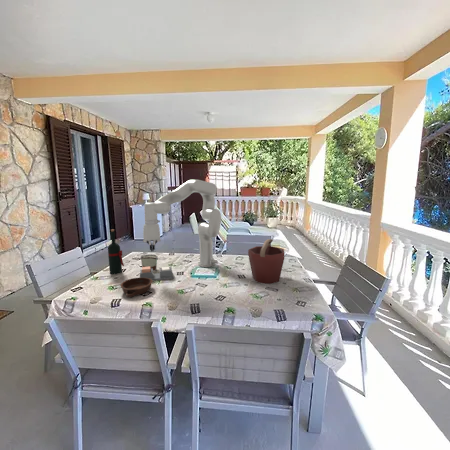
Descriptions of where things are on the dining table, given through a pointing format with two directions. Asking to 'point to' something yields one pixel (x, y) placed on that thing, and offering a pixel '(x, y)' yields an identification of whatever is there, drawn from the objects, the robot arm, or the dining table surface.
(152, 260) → the grey arched window
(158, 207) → the robot arm
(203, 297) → the dining table surface
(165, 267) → the key cream
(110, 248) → the wine bottle
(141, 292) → the dish
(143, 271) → the key terracotta
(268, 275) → the bucket
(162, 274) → the key panel
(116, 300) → the dining table surface
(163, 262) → the dining table surface
